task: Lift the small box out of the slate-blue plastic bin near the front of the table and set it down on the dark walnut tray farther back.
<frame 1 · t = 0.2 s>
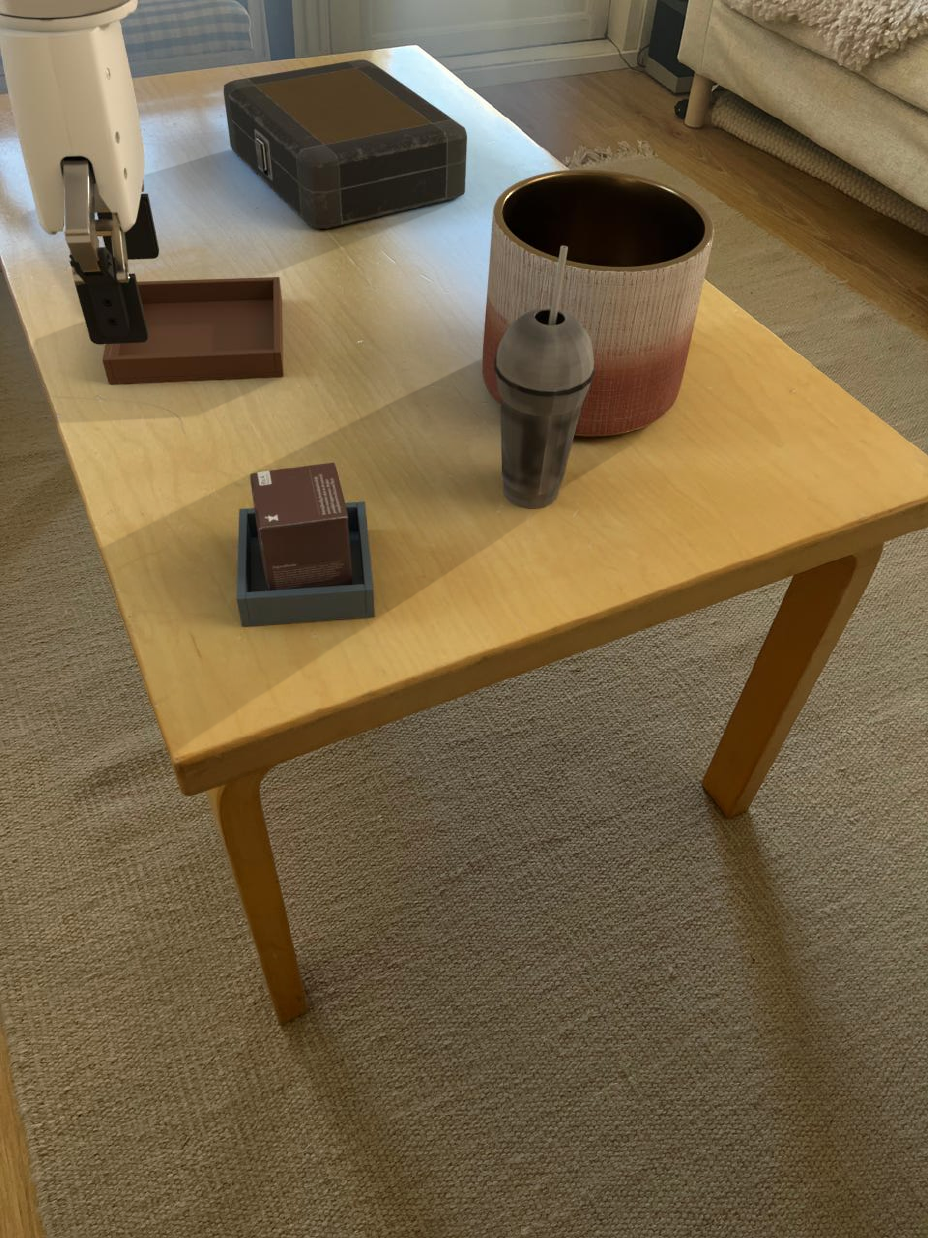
hand: (127, 296, 60), 19 cm above the table, tool pointing down, fingers open, 9 cm apart
bin: (307, 575, 72), on the table
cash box: (342, 174, 118), on the table
planter: (578, 386, 90), on the table
box: (306, 573, 72), resting on bin
beverage cup: (530, 491, 80), on the table
tray: (200, 339, 92), on the table
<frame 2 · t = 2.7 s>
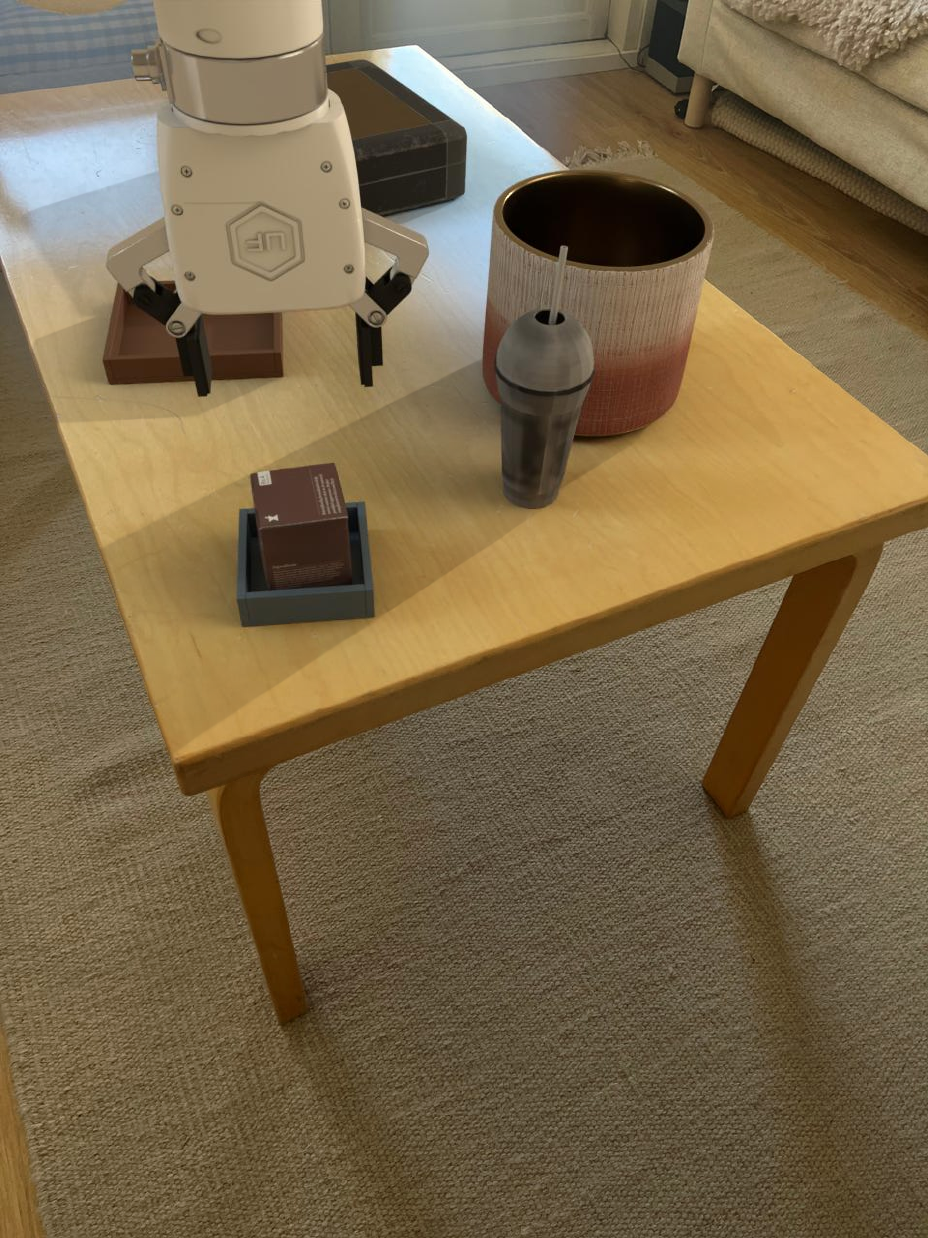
hand: (286, 378, 60), 17 cm above the table, tool pointing down, fingers open, 9 cm apart
nothing on the table moved.
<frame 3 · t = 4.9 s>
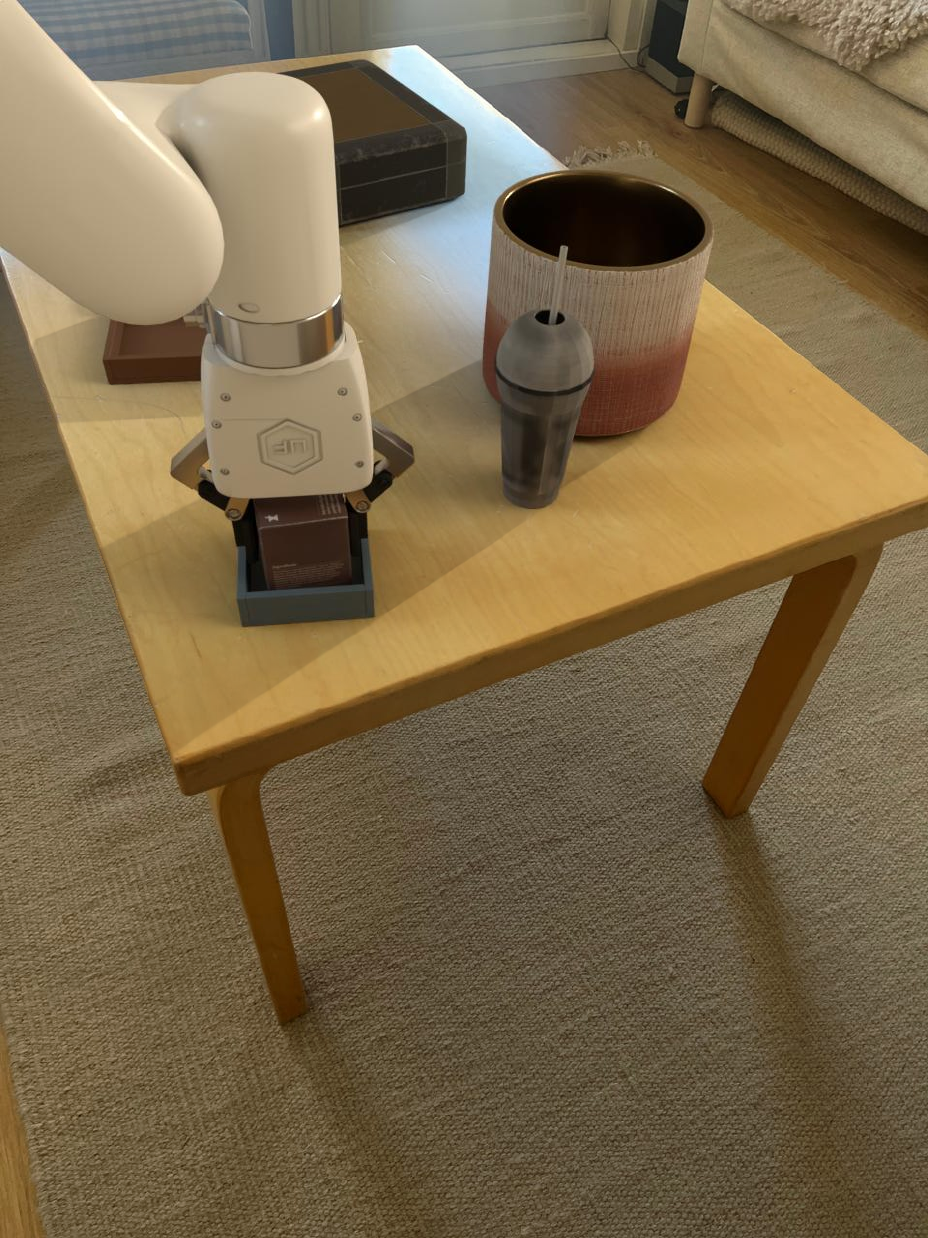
hand: (303, 544, 70), 3 cm above the table, tool pointing down, fingers closed on box, 6 cm apart
box: (306, 573, 72), resting on bin, touching gripper
everything else where it was.
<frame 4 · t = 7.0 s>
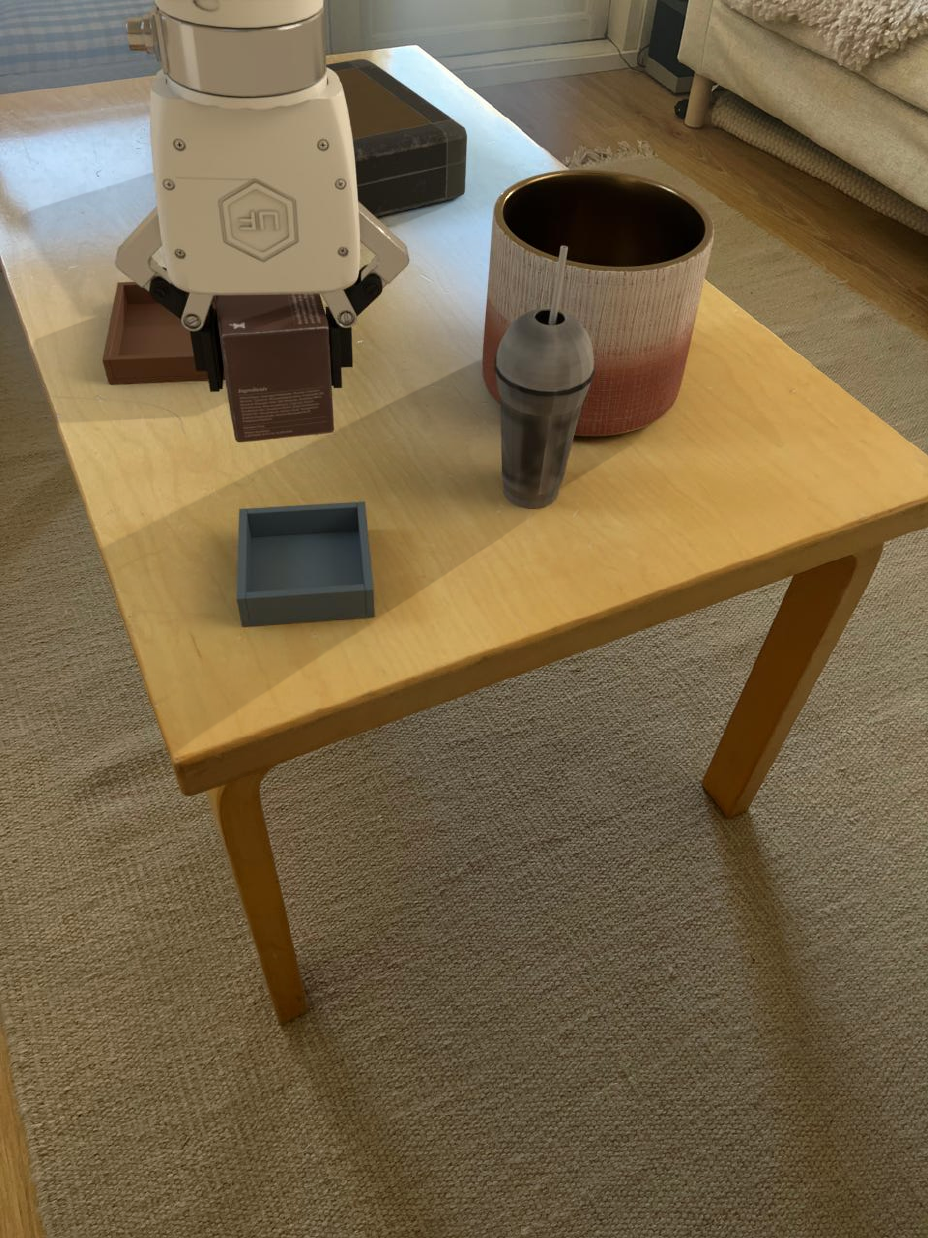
hand: (276, 374, 59), 17 cm above the table, tool pointing down, fingers closed on box, 6 cm apart
box: (280, 414, 61), point 14 cm above the table, touching gripper
everything else where it was.
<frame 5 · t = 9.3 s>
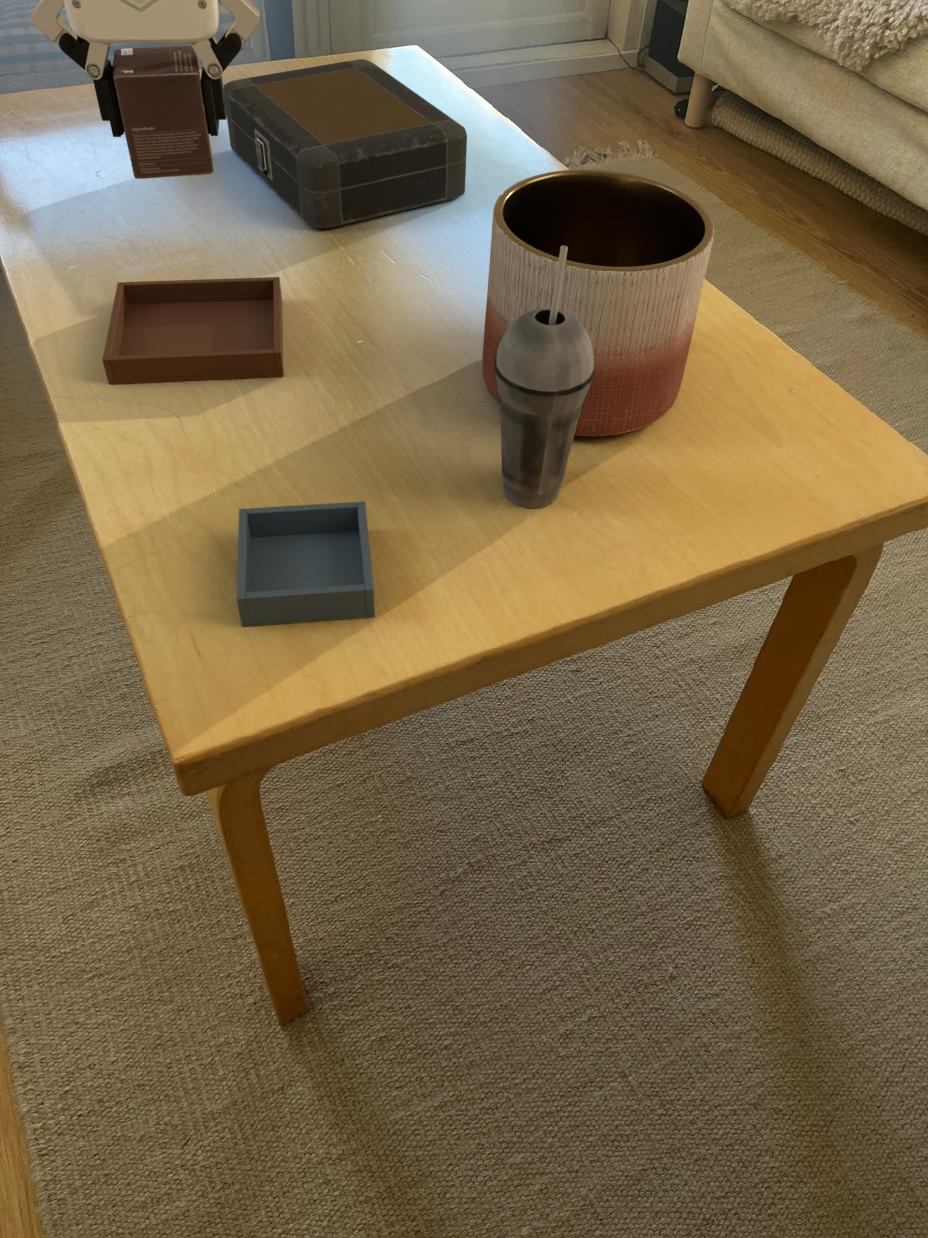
hand: (167, 127, 75), 20 cm above the table, tool pointing down, fingers closed on box, 6 cm apart
box: (173, 164, 77), point 17 cm above the table, touching gripper
everything else where it was.
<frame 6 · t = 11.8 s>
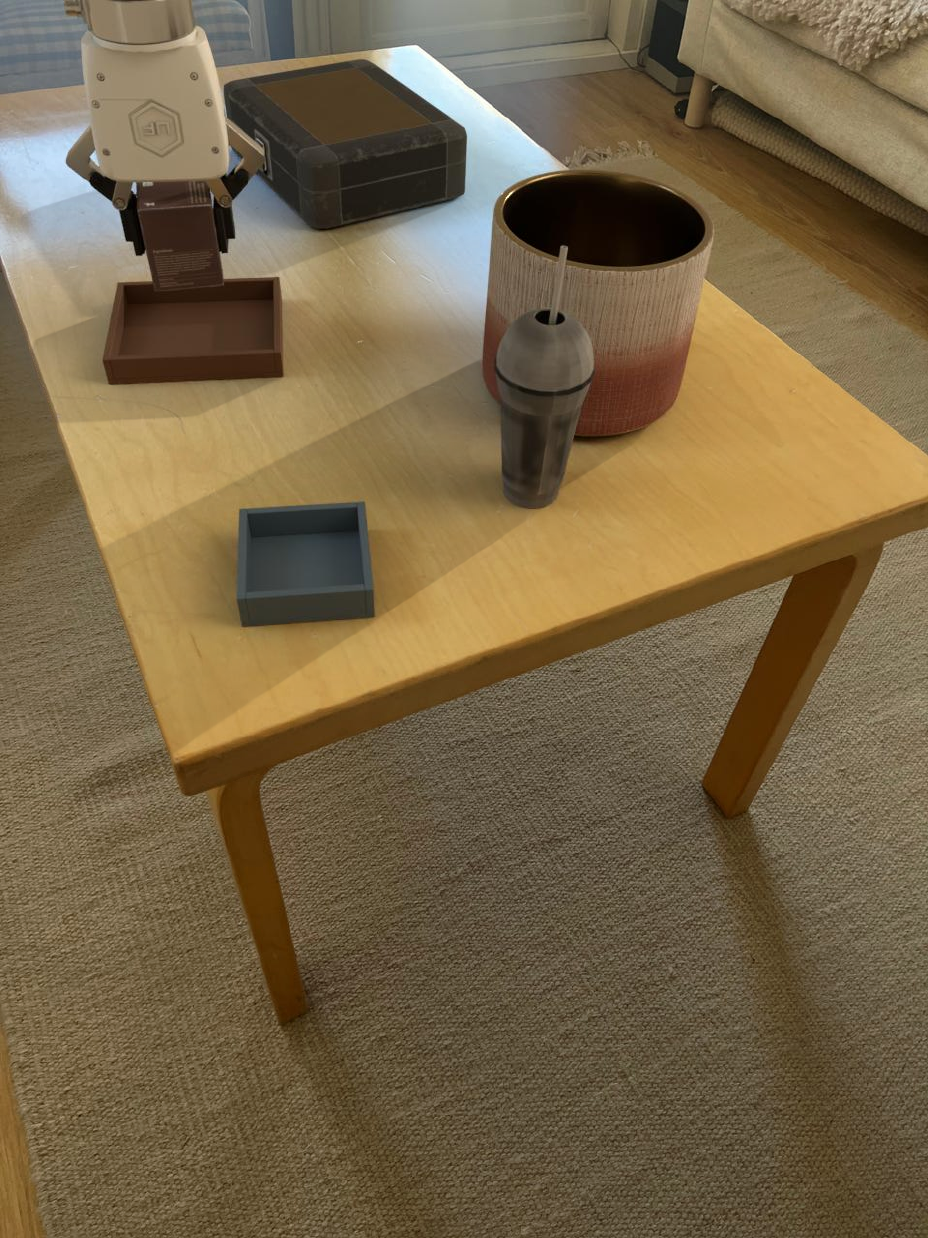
hand: (182, 245, 85), 9 cm above the table, tool pointing down, fingers closed on box, 6 cm apart
box: (188, 275, 88), point 6 cm above the table, touching gripper
everything else where it was.
when the fingers open (3 cm above the table, at t = 13.8 s): box stays where it is, resting on tray.
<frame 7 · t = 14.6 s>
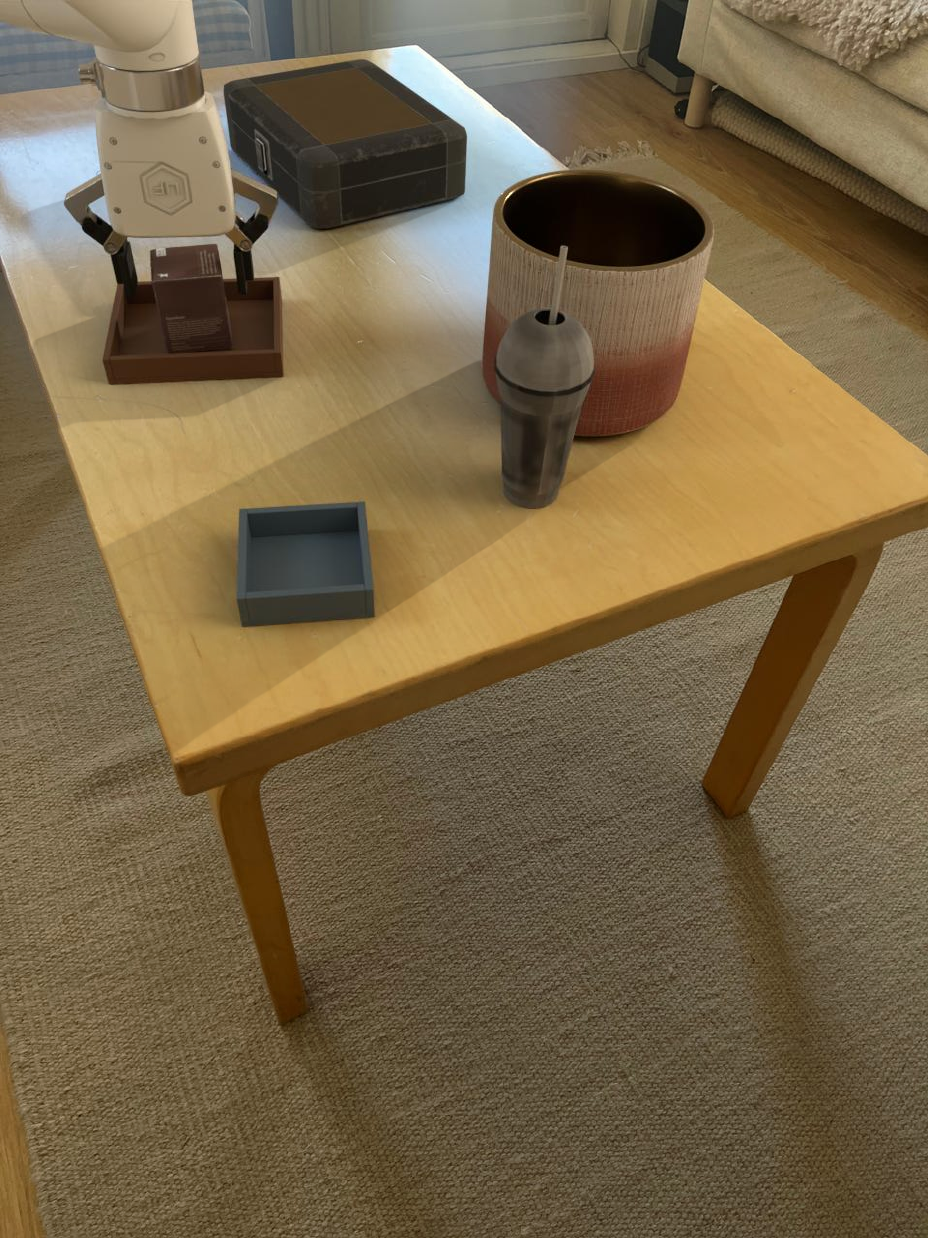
hand: (188, 288, 88), 5 cm above the table, tool pointing down, fingers open, 9 cm apart
box: (199, 337, 92), resting on tray
everything else where it was.
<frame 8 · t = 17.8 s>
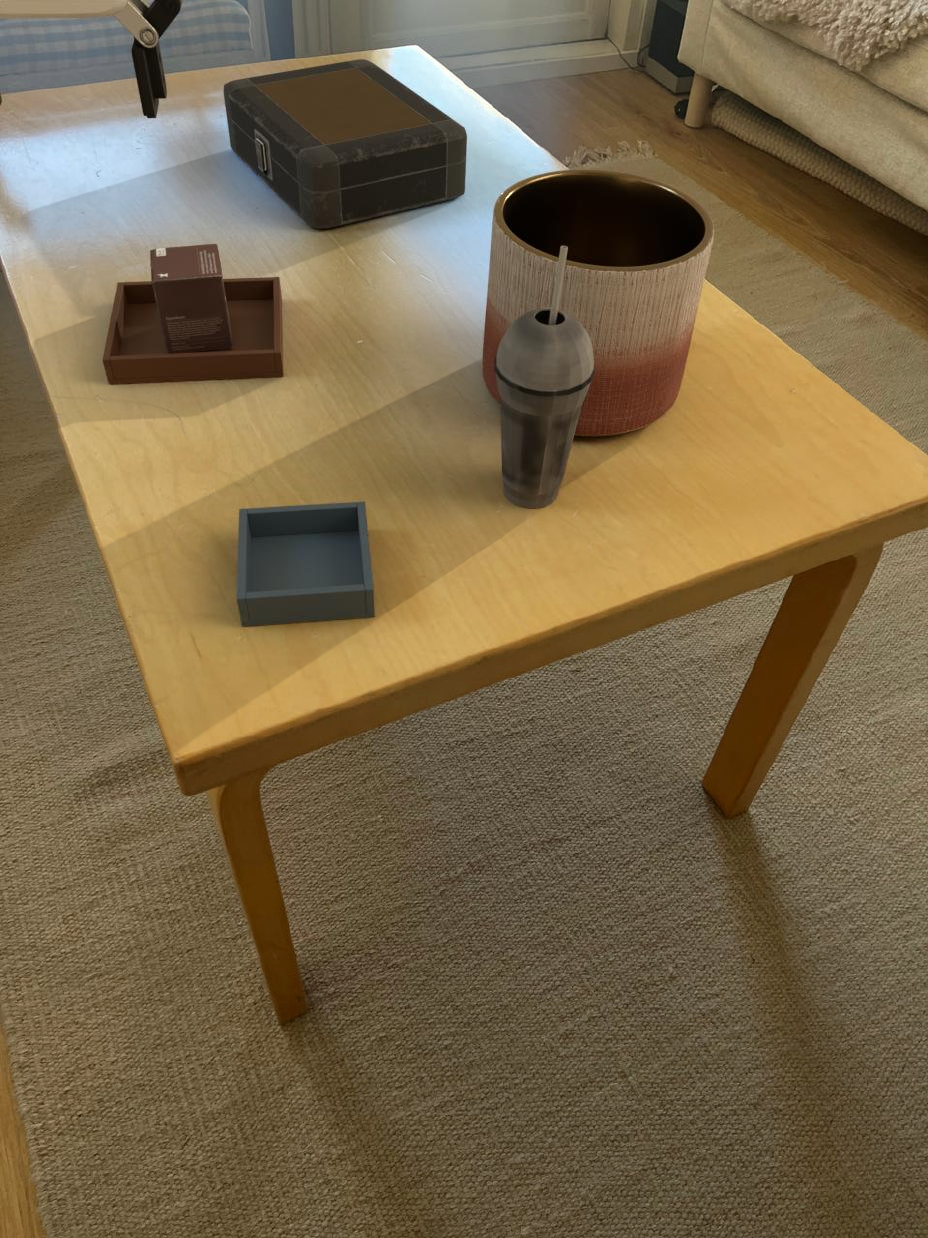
hand: (73, 110, 62), 26 cm above the table, tool pointing down, fingers open, 9 cm apart
nothing on the table moved.
at the end: box inside the target area in the tray (0.1 cm from its centre), point 0.3 cm above the tray's base; box tilted 0°; the gripper is holding nothing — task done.
